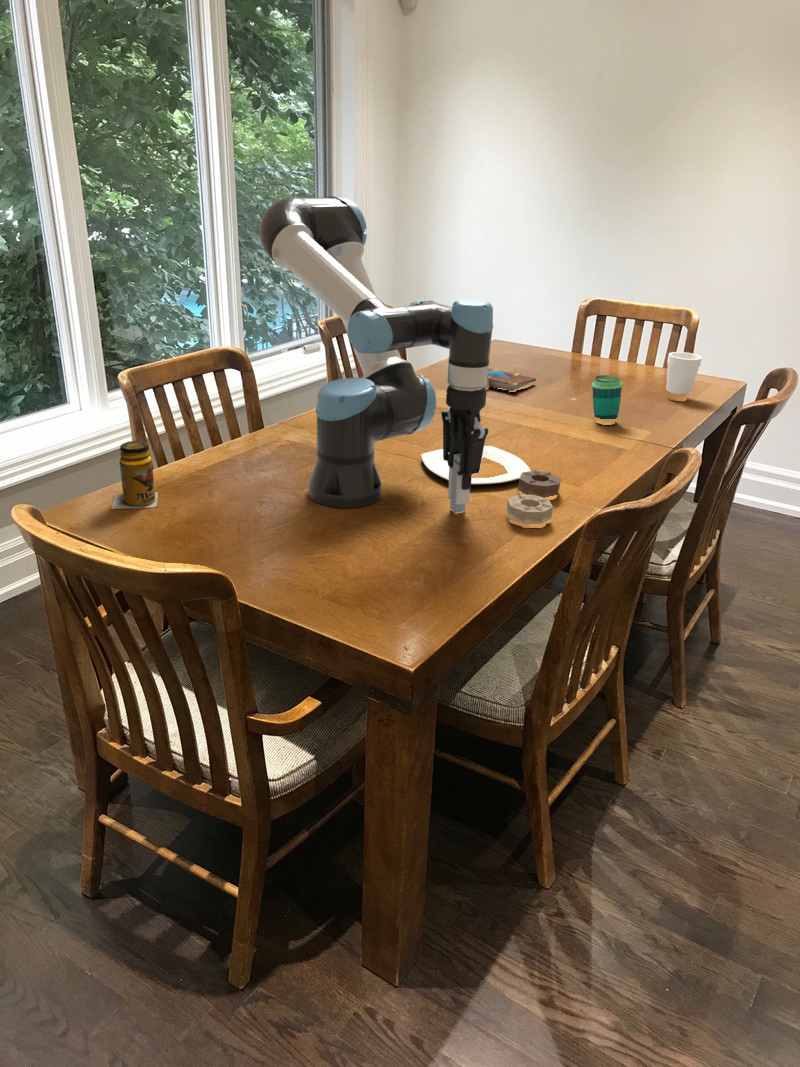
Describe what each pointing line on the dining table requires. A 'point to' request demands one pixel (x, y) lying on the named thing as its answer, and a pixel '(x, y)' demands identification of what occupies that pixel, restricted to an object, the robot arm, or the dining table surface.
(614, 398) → the cup
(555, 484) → the walnut bead
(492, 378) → the book
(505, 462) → the plate
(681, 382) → the foam cup
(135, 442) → the condiment
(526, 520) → the maple bead
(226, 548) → the dining table surface
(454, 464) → the long pale blue brick
